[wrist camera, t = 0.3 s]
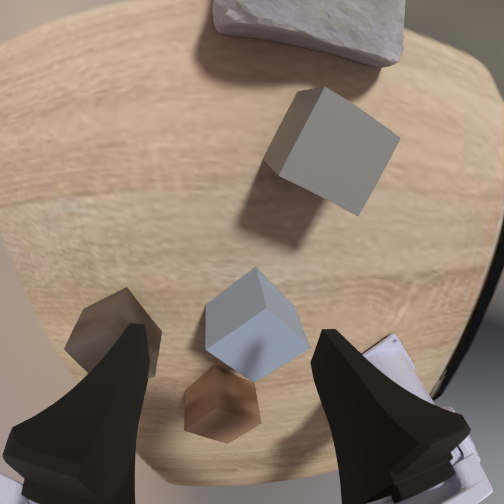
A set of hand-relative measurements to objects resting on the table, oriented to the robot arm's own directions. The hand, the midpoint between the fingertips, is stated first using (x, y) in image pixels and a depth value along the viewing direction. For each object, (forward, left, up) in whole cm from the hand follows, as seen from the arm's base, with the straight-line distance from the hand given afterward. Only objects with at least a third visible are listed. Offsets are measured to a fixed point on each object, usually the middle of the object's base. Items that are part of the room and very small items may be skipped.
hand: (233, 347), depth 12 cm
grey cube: (+2, -9, -10) cm, 14 cm away
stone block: (+10, -16, -11) cm, 22 cm away
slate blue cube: (-5, +2, -10) cm, 12 cm away
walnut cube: (-11, +11, -10) cm, 19 cm away
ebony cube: (+1, +11, -10) cm, 15 cm away
